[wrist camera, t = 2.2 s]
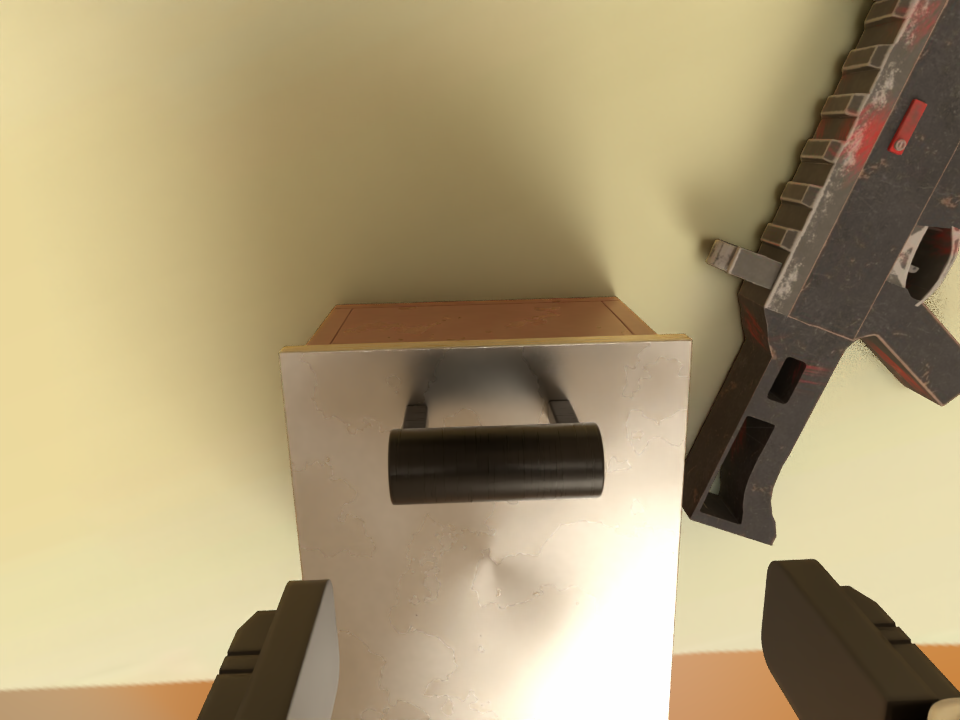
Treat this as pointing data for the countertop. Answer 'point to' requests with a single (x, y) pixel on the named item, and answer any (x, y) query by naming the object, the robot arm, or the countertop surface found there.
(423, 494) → the lid
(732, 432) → the toy gun
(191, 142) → the countertop surface
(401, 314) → the open wooden cubby
